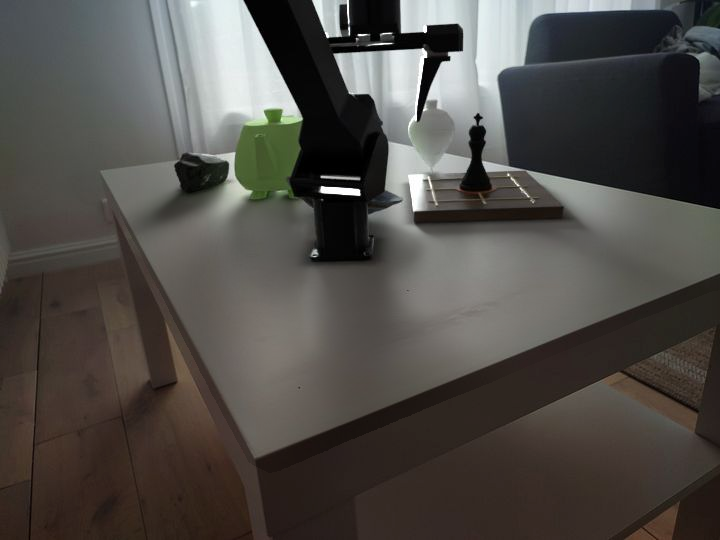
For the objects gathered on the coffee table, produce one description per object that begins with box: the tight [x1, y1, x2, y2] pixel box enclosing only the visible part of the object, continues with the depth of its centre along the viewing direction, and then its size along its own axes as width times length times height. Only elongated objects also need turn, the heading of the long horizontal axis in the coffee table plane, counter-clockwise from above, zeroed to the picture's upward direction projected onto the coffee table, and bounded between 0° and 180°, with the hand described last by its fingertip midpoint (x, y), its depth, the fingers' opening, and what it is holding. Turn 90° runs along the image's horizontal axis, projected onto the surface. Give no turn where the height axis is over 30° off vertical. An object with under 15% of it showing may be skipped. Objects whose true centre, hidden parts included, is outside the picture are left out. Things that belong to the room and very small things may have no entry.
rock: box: [173, 152, 230, 194], centre depth 89 cm, size 10×9×6 cm
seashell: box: [286, 176, 404, 215], centre depth 68 cm, size 15×12×5 cm
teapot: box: [233, 107, 302, 200], centre depth 81 cm, size 20×13×13 cm
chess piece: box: [459, 112, 492, 191], centre depth 71 cm, size 4×4×10 cm
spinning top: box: [407, 98, 456, 174], centre depth 88 cm, size 8×8×12 cm
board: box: [408, 170, 565, 224], centre depth 74 cm, size 20×18×2 cm
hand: (378, 123), depth 62 cm, fingers open, 9 cm apart
